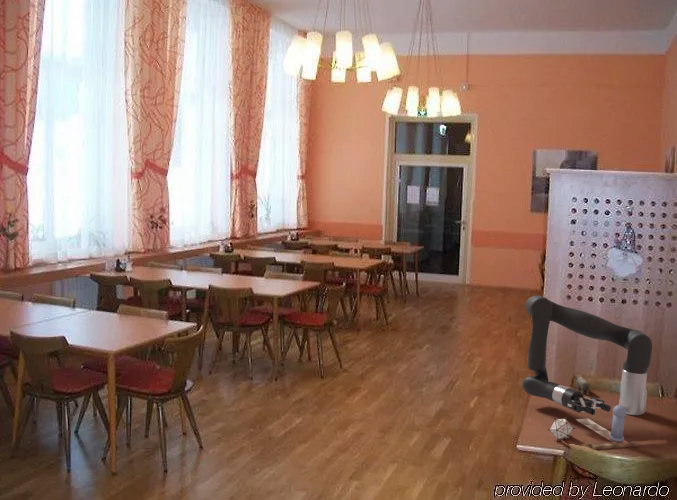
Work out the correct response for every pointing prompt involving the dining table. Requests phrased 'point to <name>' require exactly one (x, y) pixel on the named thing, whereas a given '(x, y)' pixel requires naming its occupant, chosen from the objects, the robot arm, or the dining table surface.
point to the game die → (561, 429)
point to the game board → (605, 434)
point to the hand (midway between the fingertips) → (602, 410)
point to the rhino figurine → (582, 385)
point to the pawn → (618, 424)
